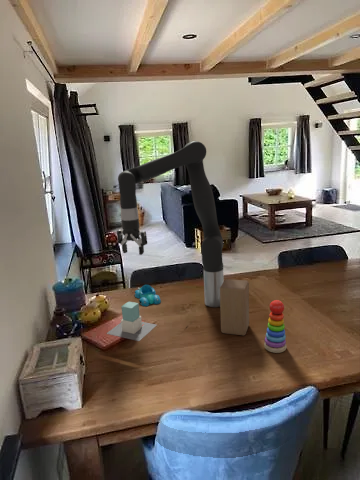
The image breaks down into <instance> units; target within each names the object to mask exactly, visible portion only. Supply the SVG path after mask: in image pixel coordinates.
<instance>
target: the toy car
mask: <svg viewBox="0 0 360 480" xmlns="http://www.w3.org/2000/svg"><path fill="white" fill-rule="evenodd" d="M156 293H157V292H156V289H155V288H154V287H152V286H151V285H150V284H144V285H142V286H141V287H137V289H136V290H135V291H134V297H135V298H136V299H139V306H142V307H149V305H159V304H161V302H162V301H161V297H160V295H158V294H156Z"/></svg>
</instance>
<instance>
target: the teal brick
mask: <svg viewBox="0 0 360 480" xmlns="http://www.w3.org/2000/svg"><path fill="white" fill-rule="evenodd" d="M121 315H122V319H123V320H126V321H131V322H134V321H135V320H136V319H137V318H139V317H140V316H141V314H140V302H139V303H138V302H134V301H127V302H126V303H124V304H123V305H121Z"/></svg>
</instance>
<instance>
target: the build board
mask: <svg viewBox="0 0 360 480" xmlns="http://www.w3.org/2000/svg"><path fill="white" fill-rule="evenodd" d="M143 324H144V325H143ZM142 325H143V326H142V328H140V329H139V330H138V331H137V332H136V333H135V334H133V333H128V332H123V331H122V326H121V322H120V323H118V324H117V325H116V326H114V327H113V328H111V329H110V330H109V331H108V332H106V334H107V335H111V336H116V337H120V338H122V339H123V338H124V339H128V340H132V341H135V342H140V341H141V340H142V339H143V338H145V337H146V336H147V335H148V334H149V333H150V332H151V331H153V330H154V329H155V327H157V326H158V324H155V323H149V322H145V321H142Z"/></svg>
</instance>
